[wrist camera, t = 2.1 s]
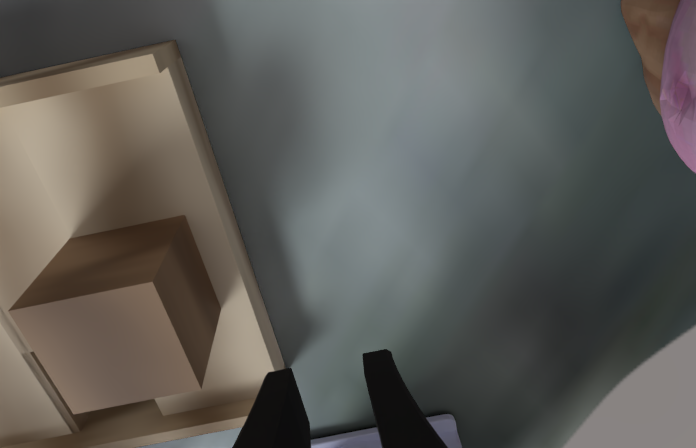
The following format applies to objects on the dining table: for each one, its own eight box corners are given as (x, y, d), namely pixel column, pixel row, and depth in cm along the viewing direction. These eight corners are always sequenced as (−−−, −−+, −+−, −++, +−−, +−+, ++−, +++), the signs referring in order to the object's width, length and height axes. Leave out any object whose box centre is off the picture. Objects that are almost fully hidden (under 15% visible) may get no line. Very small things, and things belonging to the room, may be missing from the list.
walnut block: (184, 214, 19) (152, 281, 15) (221, 308, 21) (201, 389, 17) (69, 238, 19) (7, 311, 15) (117, 329, 22) (73, 414, 18)
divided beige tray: (175, 39, 18) (147, 56, 15) (286, 371, 26) (283, 427, 23) (-338, 151, 19) (-466, 189, 16) (-83, 443, 26) (-135, 508, 23)
